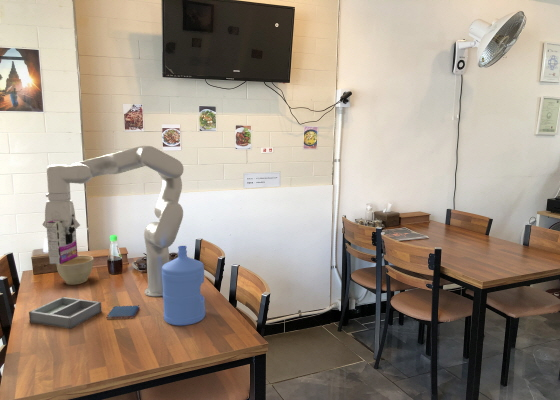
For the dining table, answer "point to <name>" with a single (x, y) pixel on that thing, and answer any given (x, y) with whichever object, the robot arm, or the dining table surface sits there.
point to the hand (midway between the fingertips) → (62, 243)
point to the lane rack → (65, 312)
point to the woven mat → (123, 312)
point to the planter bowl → (76, 269)
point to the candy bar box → (60, 243)
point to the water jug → (183, 290)
